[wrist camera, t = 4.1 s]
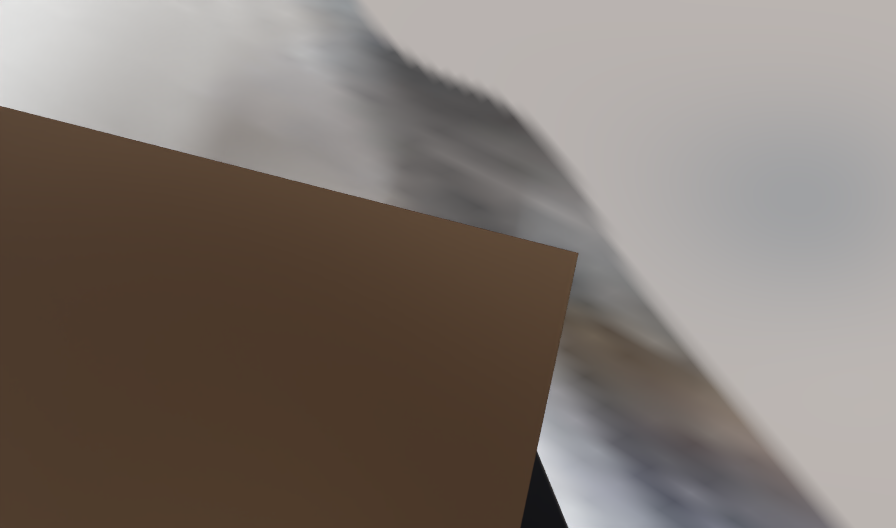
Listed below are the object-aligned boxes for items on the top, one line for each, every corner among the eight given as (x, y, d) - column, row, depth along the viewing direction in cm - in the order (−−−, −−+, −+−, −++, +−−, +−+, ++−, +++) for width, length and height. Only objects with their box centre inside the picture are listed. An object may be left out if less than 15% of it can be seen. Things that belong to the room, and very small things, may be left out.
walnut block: (439, 561, 13) (341, 1375, 2) (272, 506, 14) (-583, 898, 2) (484, 382, 15) (578, 252, 3) (332, 339, 15) (-27, 100, 4)
